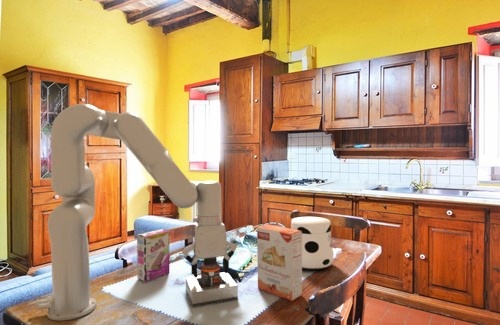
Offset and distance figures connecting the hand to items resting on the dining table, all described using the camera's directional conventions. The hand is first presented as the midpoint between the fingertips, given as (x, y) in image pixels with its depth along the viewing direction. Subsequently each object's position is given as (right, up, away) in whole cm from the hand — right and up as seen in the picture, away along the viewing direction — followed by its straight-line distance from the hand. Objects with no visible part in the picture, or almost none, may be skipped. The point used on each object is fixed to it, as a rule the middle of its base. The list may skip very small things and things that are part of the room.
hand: (210, 273), depth 104 cm
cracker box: (+22, -7, +2) cm, 23 cm away
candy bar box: (-23, -7, +17) cm, 29 cm away
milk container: (+37, -6, +26) cm, 45 cm away
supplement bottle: (0, -6, 0) cm, 6 cm away
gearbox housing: (0, -7, 0) cm, 7 cm away
